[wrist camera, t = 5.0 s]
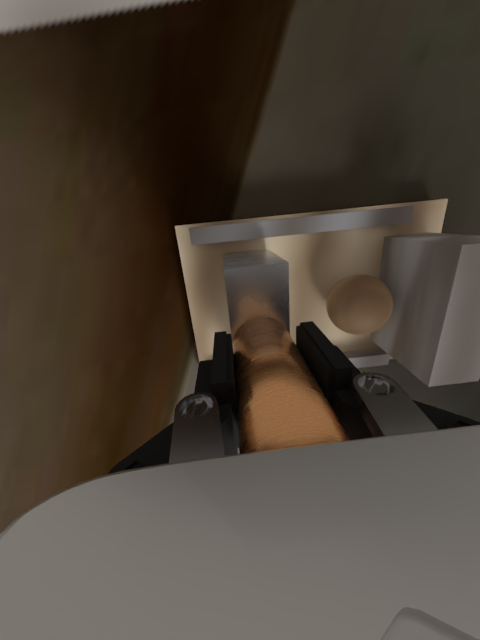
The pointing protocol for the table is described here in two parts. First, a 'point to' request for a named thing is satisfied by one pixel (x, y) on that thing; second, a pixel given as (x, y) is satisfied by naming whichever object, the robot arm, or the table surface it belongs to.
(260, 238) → the board
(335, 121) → the table surface
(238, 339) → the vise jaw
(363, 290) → the walnut
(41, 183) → the table surface
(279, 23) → the table surface
